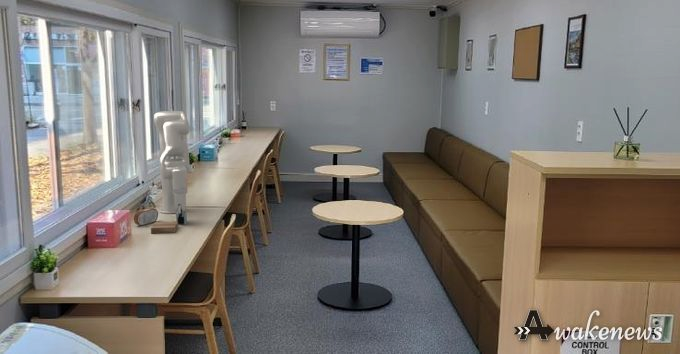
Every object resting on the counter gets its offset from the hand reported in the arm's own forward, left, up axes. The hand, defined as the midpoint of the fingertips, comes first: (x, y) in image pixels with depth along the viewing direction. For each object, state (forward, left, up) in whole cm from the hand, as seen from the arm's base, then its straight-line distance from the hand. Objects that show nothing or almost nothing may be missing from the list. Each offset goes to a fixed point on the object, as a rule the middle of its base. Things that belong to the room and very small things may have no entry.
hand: (181, 222), depth 318 cm
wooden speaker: (-1, -19, -1) cm, 19 cm away
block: (0, 0, -1) cm, 1 cm away
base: (+13, -7, -1) cm, 15 cm away
